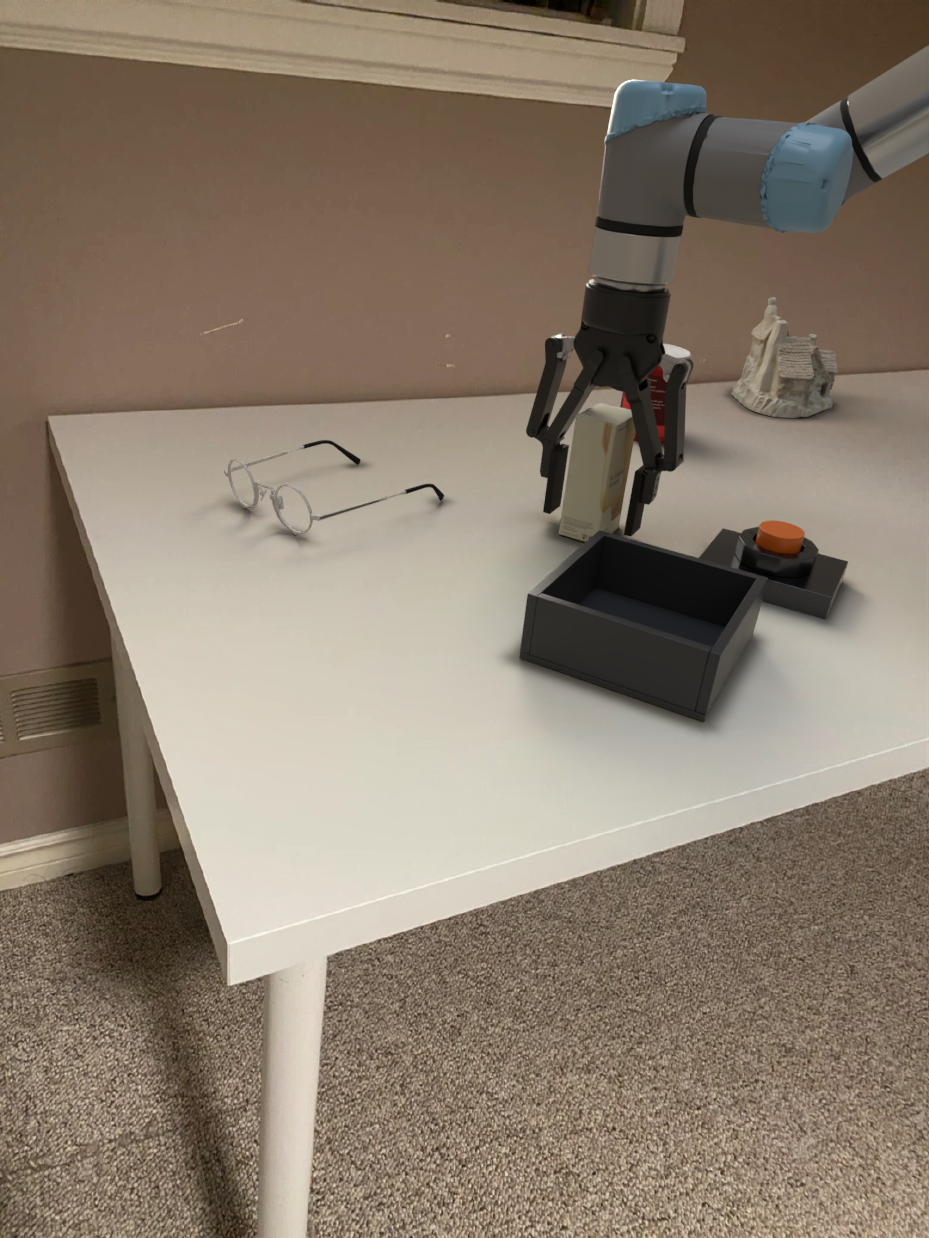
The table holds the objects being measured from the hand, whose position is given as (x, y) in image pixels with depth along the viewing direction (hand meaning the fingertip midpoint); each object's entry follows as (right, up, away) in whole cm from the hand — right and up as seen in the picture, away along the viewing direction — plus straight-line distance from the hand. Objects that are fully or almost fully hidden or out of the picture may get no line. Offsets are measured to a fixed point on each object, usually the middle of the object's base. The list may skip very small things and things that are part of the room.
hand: (591, 519), depth 94 cm
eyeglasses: (-26, +2, +2) cm, 26 cm away
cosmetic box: (0, -1, +1) cm, 1 cm away
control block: (+16, -6, -6) cm, 18 cm away
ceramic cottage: (+36, +23, +49) cm, 65 cm away
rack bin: (+1, -12, -19) cm, 23 cm away
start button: (+16, -3, -8) cm, 18 cm away
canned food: (+11, +14, +30) cm, 36 cm away
